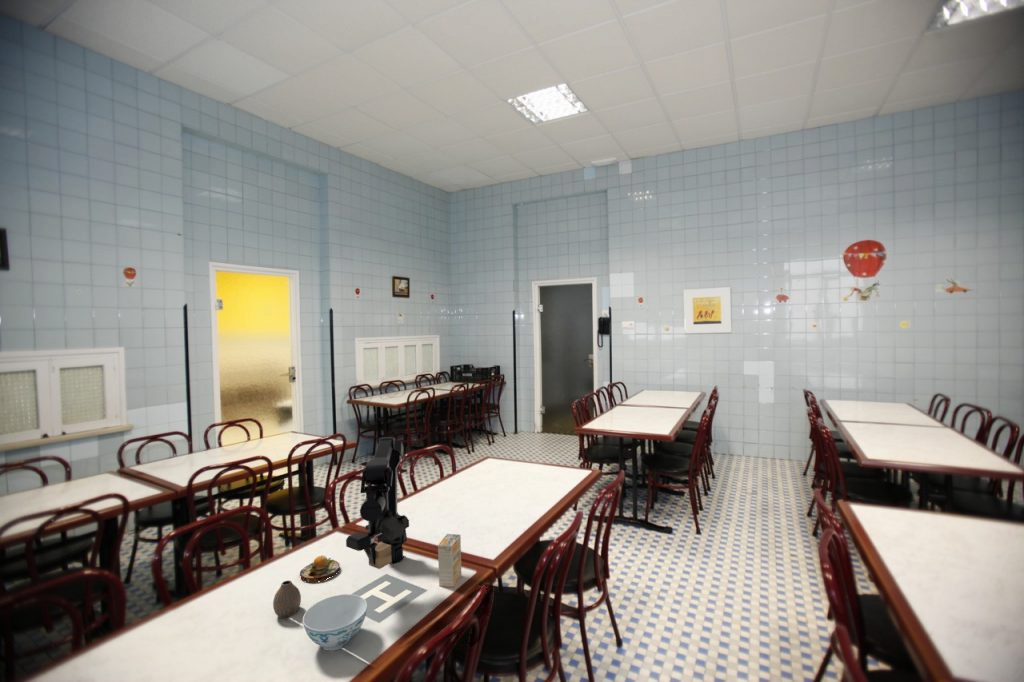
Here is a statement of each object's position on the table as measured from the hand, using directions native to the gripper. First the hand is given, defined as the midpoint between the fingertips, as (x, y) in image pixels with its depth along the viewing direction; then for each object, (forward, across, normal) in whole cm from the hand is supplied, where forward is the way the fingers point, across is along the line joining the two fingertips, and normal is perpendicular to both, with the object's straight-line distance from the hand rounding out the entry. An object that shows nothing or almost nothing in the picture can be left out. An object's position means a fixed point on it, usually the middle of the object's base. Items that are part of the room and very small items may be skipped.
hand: (380, 560), depth 135 cm
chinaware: (+11, -19, -6) cm, 23 cm away
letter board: (+11, 0, -1) cm, 11 cm away
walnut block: (+1, 0, 0) cm, 1 cm away
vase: (+11, -19, +16) cm, 27 cm away
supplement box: (+11, +17, -12) cm, 24 cm away
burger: (+12, -1, +28) cm, 31 cm away
